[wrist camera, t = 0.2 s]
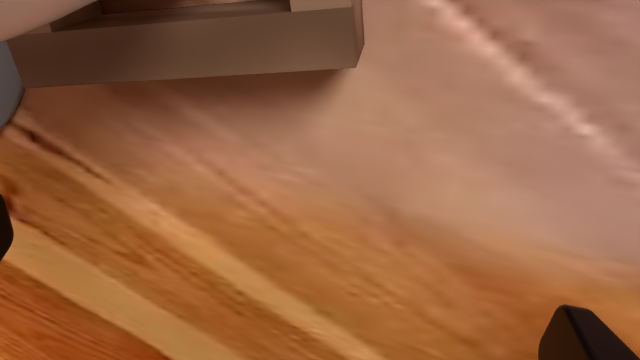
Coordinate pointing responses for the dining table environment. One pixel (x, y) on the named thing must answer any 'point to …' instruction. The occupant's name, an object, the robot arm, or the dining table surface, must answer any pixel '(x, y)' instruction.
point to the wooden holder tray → (191, 42)
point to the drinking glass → (33, 14)
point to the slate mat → (8, 85)
